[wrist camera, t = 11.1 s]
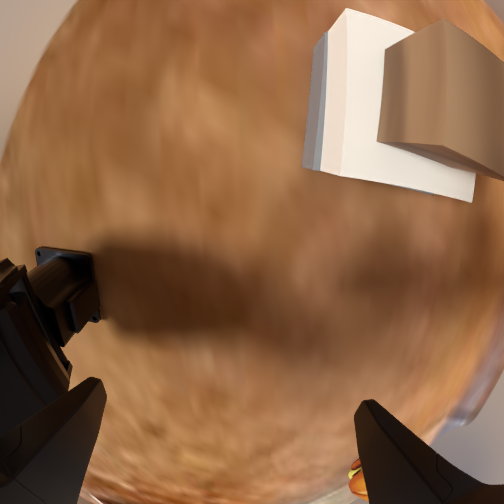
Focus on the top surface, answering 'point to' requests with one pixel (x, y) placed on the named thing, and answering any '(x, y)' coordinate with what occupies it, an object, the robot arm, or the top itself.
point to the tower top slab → (373, 113)
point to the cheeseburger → (357, 481)
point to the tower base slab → (319, 109)
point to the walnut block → (445, 100)
